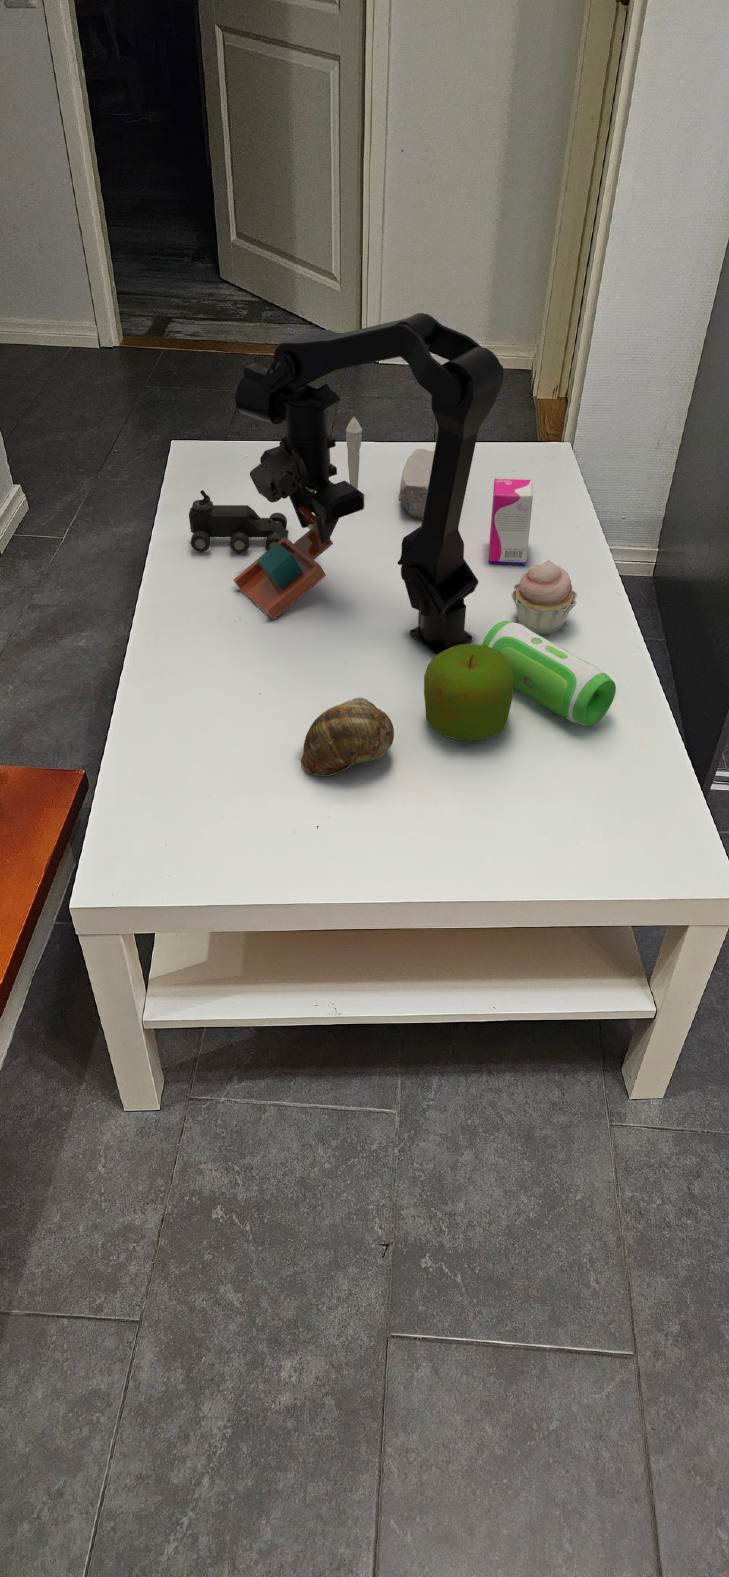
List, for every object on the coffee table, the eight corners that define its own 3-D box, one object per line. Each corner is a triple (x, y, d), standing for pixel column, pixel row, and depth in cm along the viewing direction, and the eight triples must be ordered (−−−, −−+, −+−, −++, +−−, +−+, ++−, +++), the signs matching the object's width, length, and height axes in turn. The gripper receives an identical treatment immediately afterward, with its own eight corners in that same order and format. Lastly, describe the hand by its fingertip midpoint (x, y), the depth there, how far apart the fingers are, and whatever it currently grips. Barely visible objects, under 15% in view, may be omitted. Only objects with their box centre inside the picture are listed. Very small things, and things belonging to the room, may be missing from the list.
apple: (485, 690, 141) (491, 620, 134) (525, 738, 134) (534, 667, 127) (408, 710, 138) (410, 639, 131) (444, 761, 131) (448, 689, 123)
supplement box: (525, 546, 168) (533, 478, 161) (526, 566, 164) (533, 497, 156) (488, 545, 169) (494, 476, 161) (487, 564, 165) (493, 495, 157)
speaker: (474, 676, 143) (478, 629, 138) (511, 655, 147) (517, 608, 142) (576, 739, 134) (584, 691, 129) (613, 715, 137) (623, 667, 132)
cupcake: (569, 604, 156) (578, 543, 149) (577, 641, 149) (587, 579, 143) (504, 604, 156) (511, 543, 150) (510, 641, 149) (517, 578, 143)
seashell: (390, 732, 135) (391, 680, 129) (396, 781, 128) (397, 729, 123) (300, 735, 134) (297, 684, 129) (301, 785, 128) (298, 733, 122)
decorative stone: (449, 482, 185) (391, 481, 184) (453, 444, 180) (394, 443, 180) (459, 525, 174) (398, 524, 174) (463, 485, 170) (401, 485, 169)
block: (303, 573, 155) (292, 554, 152) (282, 590, 155) (270, 572, 152) (288, 561, 158) (277, 542, 155) (268, 578, 158) (256, 560, 154)
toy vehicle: (196, 529, 173) (190, 478, 167) (289, 529, 173) (286, 478, 167) (189, 555, 167) (183, 503, 161) (286, 555, 167) (283, 503, 161)
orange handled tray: (346, 558, 155) (329, 526, 150) (273, 620, 153) (254, 590, 148) (309, 529, 161) (292, 498, 156) (239, 589, 160) (219, 559, 154)
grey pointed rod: (351, 492, 182) (350, 412, 172) (365, 496, 181) (365, 415, 171) (343, 498, 180) (342, 417, 171) (357, 502, 179) (356, 421, 170)
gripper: (221, 423, 147) (234, 525, 158) (291, 475, 136) (300, 581, 147) (291, 402, 152) (299, 502, 162) (364, 451, 140) (368, 555, 151)
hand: (314, 534), depth 155 cm, fingers closed on orange handled tray, 5 cm apart
